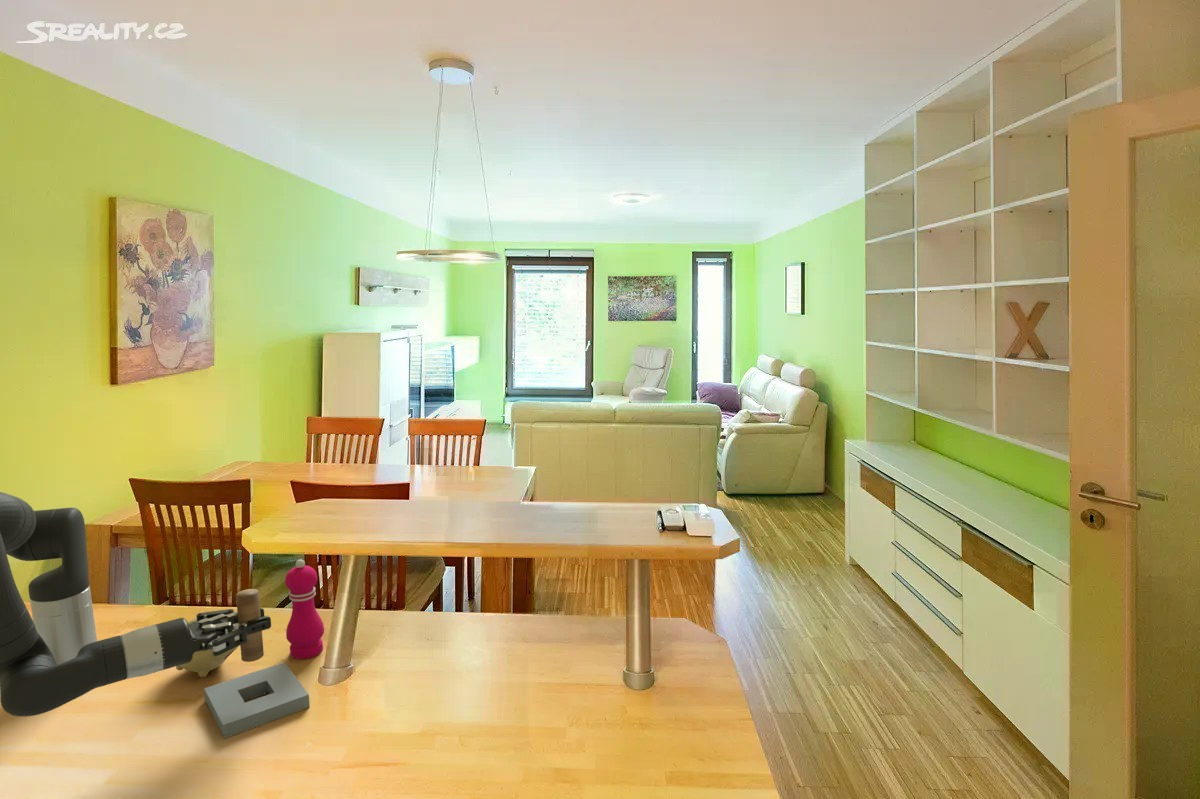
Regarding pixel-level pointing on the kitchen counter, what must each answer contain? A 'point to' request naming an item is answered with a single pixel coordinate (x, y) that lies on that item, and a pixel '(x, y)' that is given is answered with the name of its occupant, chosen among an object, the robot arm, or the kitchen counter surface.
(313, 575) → the pepper mill
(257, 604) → the pin
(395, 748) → the kitchen counter surface
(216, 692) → the socket
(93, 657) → the robot arm
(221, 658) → the beige animal figure
